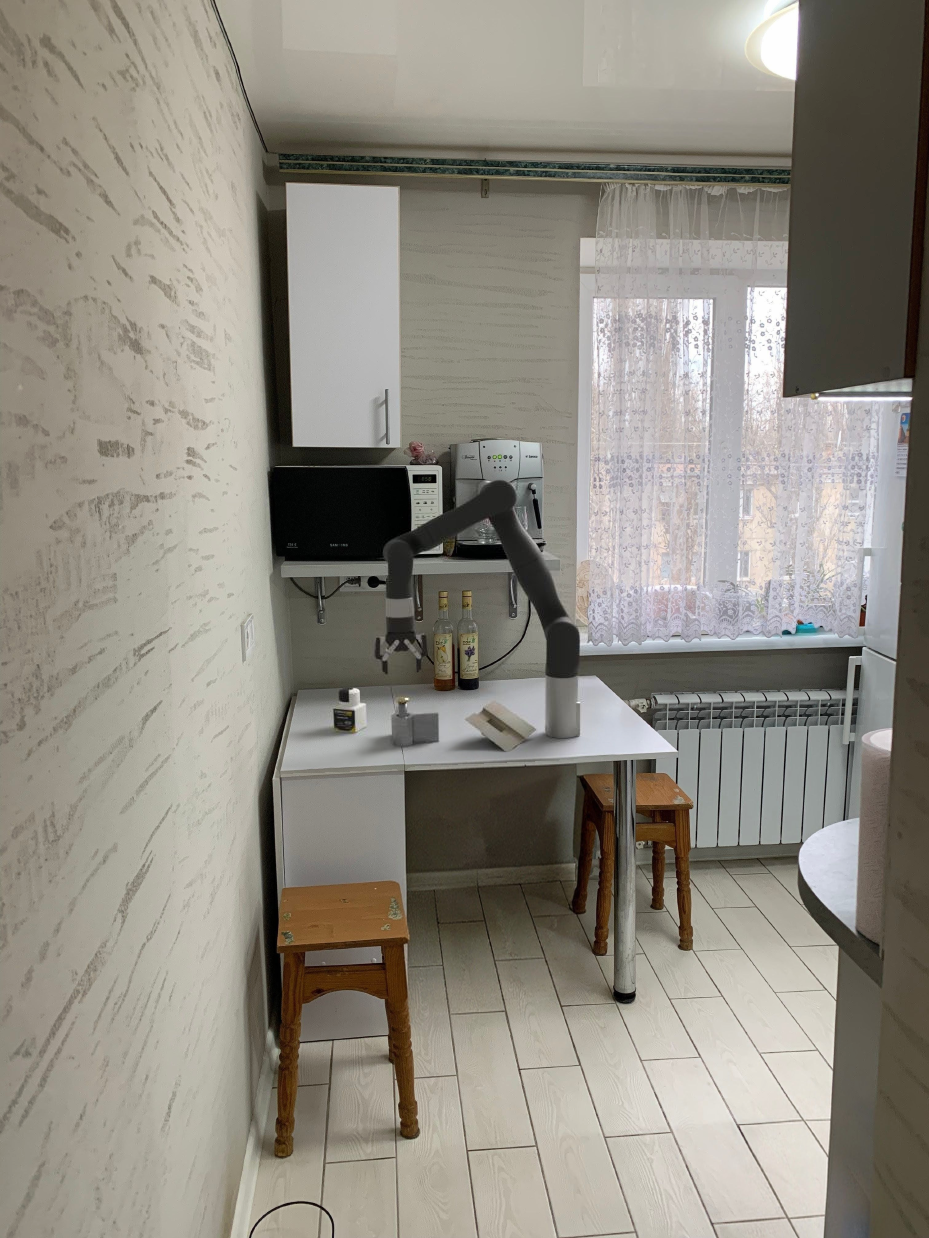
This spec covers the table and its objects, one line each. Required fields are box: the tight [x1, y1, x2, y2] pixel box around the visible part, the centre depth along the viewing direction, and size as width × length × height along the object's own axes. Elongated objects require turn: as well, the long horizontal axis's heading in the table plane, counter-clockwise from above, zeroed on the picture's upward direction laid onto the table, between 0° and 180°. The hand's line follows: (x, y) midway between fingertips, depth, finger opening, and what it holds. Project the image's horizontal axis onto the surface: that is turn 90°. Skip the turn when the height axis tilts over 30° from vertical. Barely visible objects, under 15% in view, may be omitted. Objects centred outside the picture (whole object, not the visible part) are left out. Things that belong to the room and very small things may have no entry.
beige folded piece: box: [464, 700, 538, 752], centre depth 255 cm, size 16×9×15 cm
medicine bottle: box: [332, 687, 367, 734], centre depth 266 cm, size 7×7×12 cm
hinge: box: [390, 705, 440, 748], centre depth 256 cm, size 13×13×8 cm
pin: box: [395, 696, 410, 717], centre depth 251 cm, size 3×3×13 cm
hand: (401, 672), depth 249 cm, fingers open, 8 cm apart
